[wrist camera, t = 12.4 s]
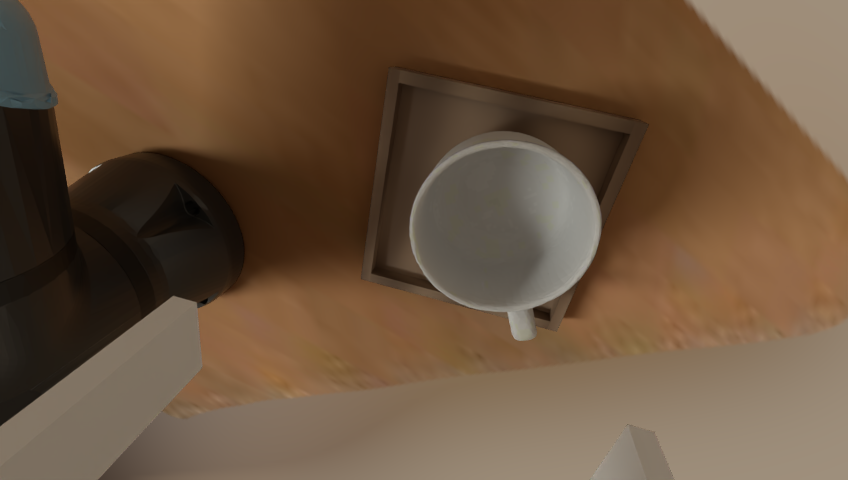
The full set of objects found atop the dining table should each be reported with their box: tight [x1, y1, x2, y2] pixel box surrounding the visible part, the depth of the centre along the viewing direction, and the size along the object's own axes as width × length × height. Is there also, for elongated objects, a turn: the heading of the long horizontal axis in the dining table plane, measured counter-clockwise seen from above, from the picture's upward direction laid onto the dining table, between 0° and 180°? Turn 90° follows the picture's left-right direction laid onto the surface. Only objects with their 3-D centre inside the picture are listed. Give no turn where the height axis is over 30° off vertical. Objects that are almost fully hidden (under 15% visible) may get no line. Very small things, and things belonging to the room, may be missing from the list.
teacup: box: [409, 131, 602, 341], centre depth 26 cm, size 14×11×8 cm
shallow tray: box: [361, 67, 649, 332], centre depth 30 cm, size 17×17×2 cm
